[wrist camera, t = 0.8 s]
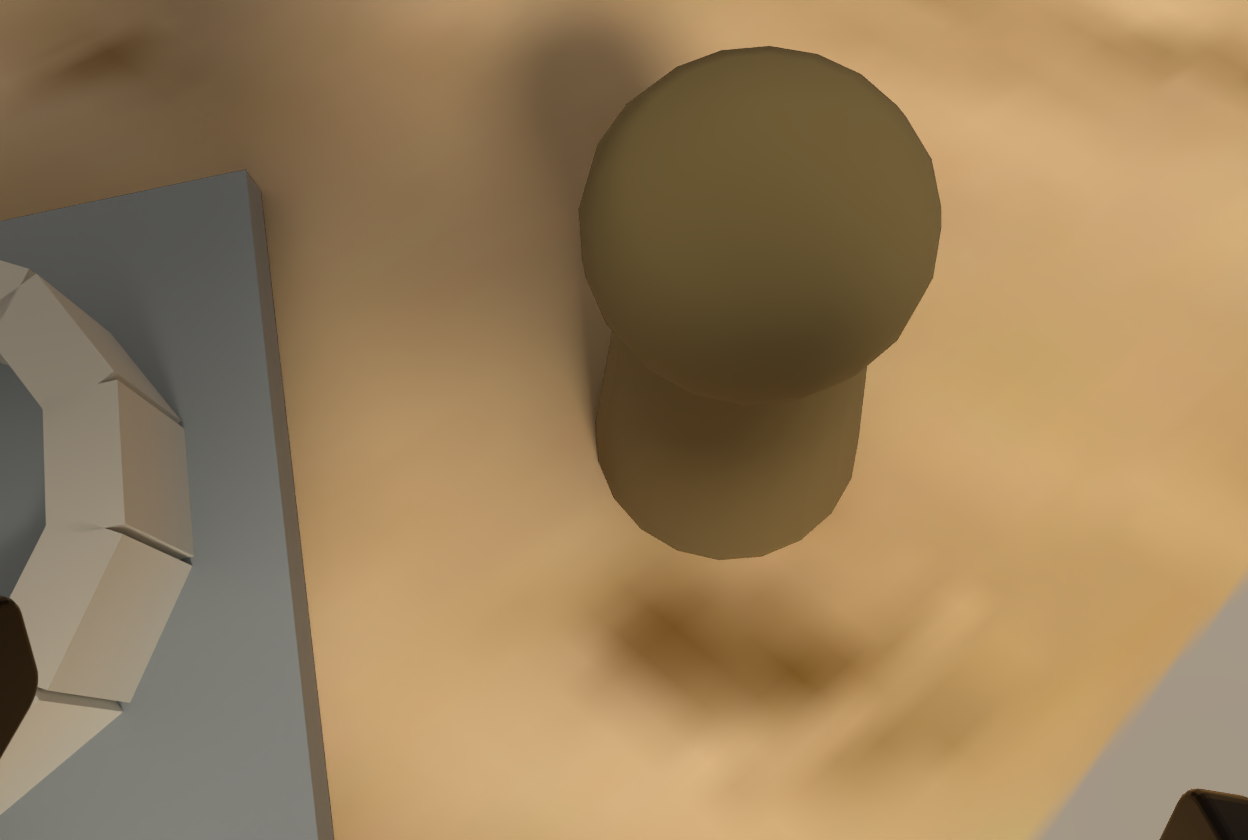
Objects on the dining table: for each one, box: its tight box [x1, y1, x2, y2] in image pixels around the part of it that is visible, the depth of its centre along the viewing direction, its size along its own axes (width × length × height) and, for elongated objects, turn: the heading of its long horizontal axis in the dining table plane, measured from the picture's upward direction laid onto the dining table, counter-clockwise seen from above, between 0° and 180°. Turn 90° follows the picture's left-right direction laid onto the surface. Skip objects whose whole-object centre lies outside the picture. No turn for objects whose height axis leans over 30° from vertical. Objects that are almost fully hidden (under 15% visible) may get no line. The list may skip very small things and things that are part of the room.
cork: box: [579, 46, 941, 560], centre depth 19 cm, size 6×6×11 cm
